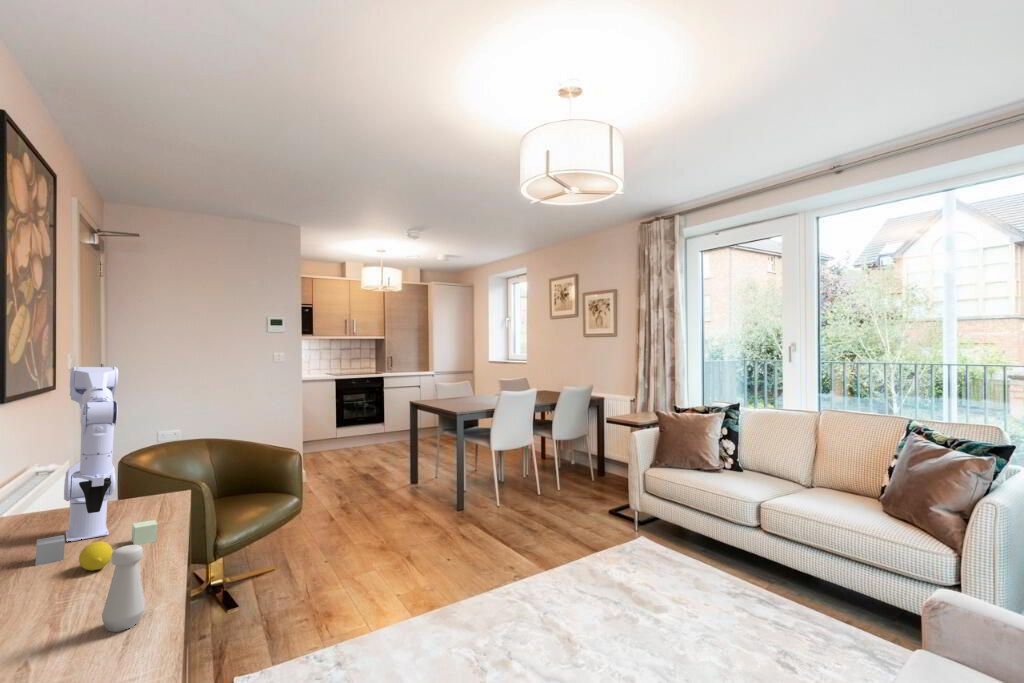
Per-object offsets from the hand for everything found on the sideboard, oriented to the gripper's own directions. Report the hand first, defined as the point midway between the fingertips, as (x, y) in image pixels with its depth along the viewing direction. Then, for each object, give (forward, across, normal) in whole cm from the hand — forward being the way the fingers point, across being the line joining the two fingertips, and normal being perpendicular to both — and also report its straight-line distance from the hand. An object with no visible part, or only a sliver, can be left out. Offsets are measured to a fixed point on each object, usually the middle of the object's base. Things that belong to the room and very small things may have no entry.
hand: (93, 512), depth 113 cm
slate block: (+10, -1, -7) cm, 12 cm away
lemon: (+7, +7, 0) cm, 10 cm away
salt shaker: (+10, +44, +2) cm, 45 cm away
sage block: (+10, -1, +10) cm, 14 cm away
